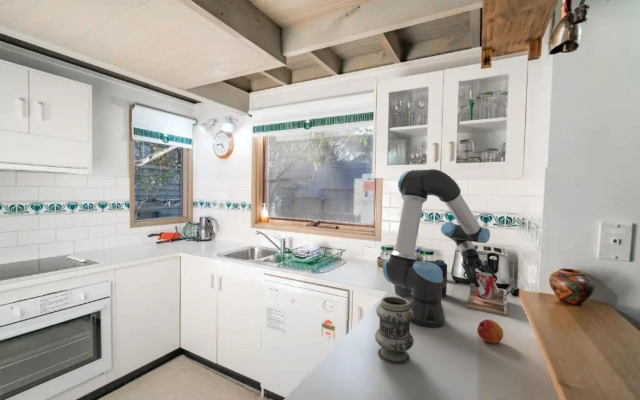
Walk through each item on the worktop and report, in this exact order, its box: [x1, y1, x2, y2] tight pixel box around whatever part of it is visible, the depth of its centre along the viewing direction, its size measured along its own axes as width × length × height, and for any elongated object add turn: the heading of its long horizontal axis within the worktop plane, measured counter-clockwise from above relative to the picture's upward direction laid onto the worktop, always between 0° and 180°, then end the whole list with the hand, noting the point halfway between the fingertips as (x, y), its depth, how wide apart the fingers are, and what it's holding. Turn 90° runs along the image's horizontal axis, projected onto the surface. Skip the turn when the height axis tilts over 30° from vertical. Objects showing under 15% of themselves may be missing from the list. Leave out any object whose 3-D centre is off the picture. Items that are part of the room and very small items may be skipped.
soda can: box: [477, 271, 495, 300], centre depth 142 cm, size 7×7×12 cm
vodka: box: [393, 284, 412, 297], centre depth 153 cm, size 9×9×30 cm
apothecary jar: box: [374, 295, 415, 365], centre depth 94 cm, size 12×12×18 cm
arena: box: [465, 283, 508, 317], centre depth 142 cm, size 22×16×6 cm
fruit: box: [476, 319, 504, 344], centre depth 105 cm, size 8×8×8 cm
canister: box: [429, 260, 448, 297], centre depth 154 cm, size 10×10×18 cm
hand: (490, 293), depth 138 cm, fingers closed on soda can, 7 cm apart
